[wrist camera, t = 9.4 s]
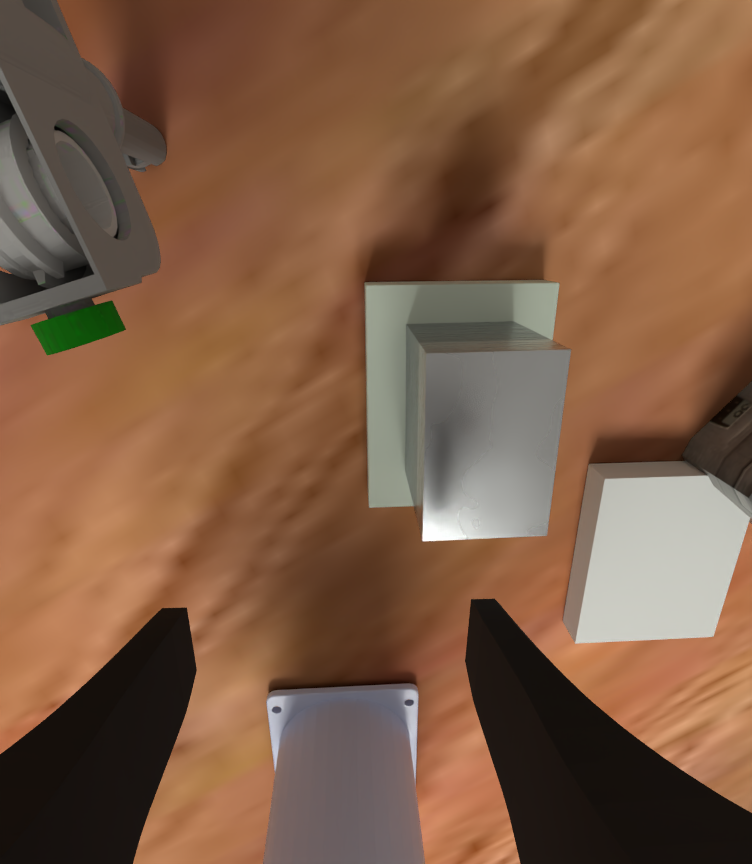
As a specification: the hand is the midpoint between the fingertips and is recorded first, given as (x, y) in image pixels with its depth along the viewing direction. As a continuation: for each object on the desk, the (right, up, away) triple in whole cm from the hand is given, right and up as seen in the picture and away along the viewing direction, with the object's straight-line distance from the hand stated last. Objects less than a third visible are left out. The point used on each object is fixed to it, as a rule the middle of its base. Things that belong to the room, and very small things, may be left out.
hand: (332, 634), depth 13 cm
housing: (+4, +6, +7) cm, 10 cm away
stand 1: (+4, +7, +8) cm, 11 cm away
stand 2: (+14, 0, +12) cm, 18 cm away
